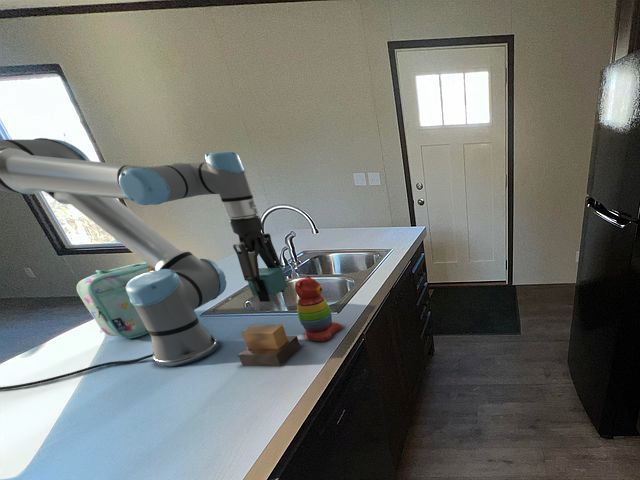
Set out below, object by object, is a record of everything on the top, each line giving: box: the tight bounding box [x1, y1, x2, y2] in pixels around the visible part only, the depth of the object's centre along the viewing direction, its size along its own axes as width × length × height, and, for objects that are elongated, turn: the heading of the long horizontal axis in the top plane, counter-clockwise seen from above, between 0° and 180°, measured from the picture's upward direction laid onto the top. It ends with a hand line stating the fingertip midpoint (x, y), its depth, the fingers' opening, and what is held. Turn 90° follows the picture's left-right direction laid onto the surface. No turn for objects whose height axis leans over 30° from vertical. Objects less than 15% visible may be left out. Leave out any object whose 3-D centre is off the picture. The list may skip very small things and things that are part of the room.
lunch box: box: [76, 261, 155, 339], centre depth 123 cm, size 27×10×21 cm, turn 158°
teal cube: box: [247, 267, 289, 296], centre depth 112 cm, size 7×7×6 cm
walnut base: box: [237, 335, 301, 367], centre depth 106 cm, size 11×11×4 cm
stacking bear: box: [294, 275, 343, 342], centre depth 114 cm, size 11×10×18 cm
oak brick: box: [241, 324, 288, 349], centre depth 104 cm, size 9×5×5 cm, turn 85°
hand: (272, 296), depth 114 cm, fingers closed on teal cube, 7 cm apart
